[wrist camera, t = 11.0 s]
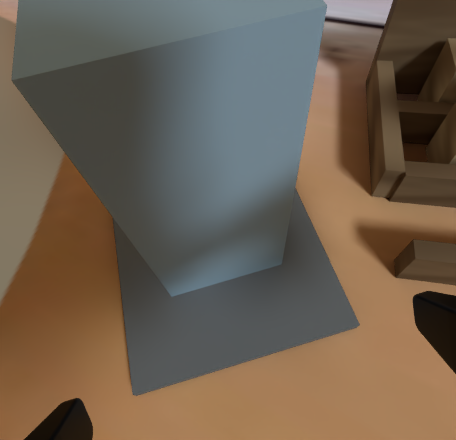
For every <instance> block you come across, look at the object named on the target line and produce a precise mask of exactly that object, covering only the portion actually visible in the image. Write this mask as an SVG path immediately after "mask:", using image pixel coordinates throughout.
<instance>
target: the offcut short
mask: <svg viewBox="0 0 456 440" xmlns="http://www.w3.org/2000/svg"><path fill="white" fill-rule="evenodd" d="M417 101H424V102H443V103H455V102H456V38H448V39H447V41H446V43H445V45H444V47H443V49H442V51H441V53H440V55H439V57H438V59H437V61H436V62H435V64H434V66H433V68H432V70H431V72H430V74H429V76H428V78H427V80H426V82H425V84H424V86H423V88H422V90H421V92H420V94H419V96H418V98H417Z"/></svg>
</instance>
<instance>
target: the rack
mask: <svg viewBox="0 0 456 440" xmlns="http://www.w3.org/2000/svg"><path fill="white" fill-rule="evenodd" d="M448 38H456V0H393V3H392V6H391V9H390V12H389V15H388V18H387V21H386V24H385V27H384V30H383V33H382V36H381V39H380V42H379V45H378V48H377V51H376V54H375V57H374V60H373V63H372V66H371V69H370V71H369V74H368V77H367V80H366V95H367V114H368V134H369V153H370V173H371V192H372V196H375V197H386V198H389V201H392V202H402V203H413V204H423V205H434V206H445V207H455V208H456V165H452V164H439V163H426V162H413V161H404V154H403V146H402V142H407V143H421V144H429V142H430V141H431V139H432V138H433V136H434V135H435V133H436V132H437V130H438V129H439V127H440V125H441V124H442V122H443V121H444V119H445V118H446V116H447V115H448V113H449V112H450V110H451V108H452V107H453V105H454V104H455V103H443V102H424V101H405V100H397V94H396V93H409V94H420V92H421V90H422V88H423V86H424V84H425V82H426V80H427V78H428V76H429V74H430V72H431V70H432V68H433V66H434V64H435V62H436V61H437V59H438V57H439V55H440V53H441V51H442V49H443V47H444V45H445V43H446V41H447V39H448ZM394 262H395V274H396V278H403V279H411V280H419V281H427V282H435V283H442V284H450V285H456V244H451V243H442V242H433V241H424V240H414V239H413V240H412V241H411V242H410V244H409V245H408V246H407V247H406V248H405V249H404V250H403V251H402V252H401V253H400V254H399V256H398V257H397V258H396V259H395V260H394Z"/></svg>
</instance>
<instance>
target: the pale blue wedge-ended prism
mask: <svg viewBox="0 0 456 440" xmlns="http://www.w3.org/2000/svg"><path fill="white" fill-rule="evenodd" d="M326 9H327V5H326V4H325V2H324V1H323V0H19V1H18V12H17V23H16V35H15V47H14V58H13V70H12V81H13V83H14V84H15V86H16V87H17V88H18V90H19V91H20V92H21V94H22V95H23V96H24V98H25V99H26V101H27V102H28V103H29V104H30V106H31V107H32V108H33V110H34V111H35V113H36V114H37V115H38V117H39V118H40V119H41V121H42V122H43V124H44V125H45V126H46V127H47V129H48V130H49V131H50V133H51V134H52V136H53V137H54V138H55V140H56V141H57V142H58V144H59V145H60V147H61V148H62V149H63V151H64V152H65V153H66V155H67V156H68V157H69V159H70V160H71V161H72V163H73V164H74V165H75V167H76V168H77V170H78V171H79V172H80V174H81V175H82V176H83V178H84V179H85V180H86V182H87V183H88V184H89V186H90V187H91V188H92V190H93V191H94V192H95V194H96V195H97V197H98V198H99V199H100V201H101V202H102V203H103V205H104V206H105V207H106V209H107V210H108V211H109V213H110V214H111V215H112V217H113V218H114V220H115V221H116V222H117V224H118V225H119V226H120V228H121V229H122V230H123V232H124V233H125V234H126V236H127V237H128V238H129V240H130V241H131V242H132V244H133V245H134V247H135V248H136V249H137V251H138V252H139V253H140V255H141V256H142V257H143V259H144V260H145V261H146V263H147V264H148V265H149V267H150V268H151V270H152V271H153V272H154V274H155V275H156V276H157V278H158V279H159V280H160V282H161V283H162V284H163V286H164V287H165V288H166V290H167V291H168V293H169V294H170V295H171V297H173V296H176V295H179V294H183V293H186V292H190V291H193V290H196V289H200V288H203V287H207V286H210V285H213V284H217V283H220V282H223V281H227V280H230V279H234V278H237V277H240V276H244V275H247V274H251V273H254V272H257V271H261V270H264V269H268V268H271V267H274V266H278V265H281V264H282V260H283V254H284V248H285V243H286V237H287V231H288V226H289V220H290V214H291V209H292V203H293V197H294V192H295V186H296V180H297V174H298V169H299V163H300V157H301V152H302V146H303V140H304V135H305V129H306V123H307V117H308V112H309V106H310V100H311V95H312V89H313V83H314V78H315V72H316V66H317V61H318V55H319V49H320V43H321V38H322V32H323V26H324V21H325V15H326Z"/></svg>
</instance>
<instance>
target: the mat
mask: <svg viewBox="0 0 456 440" xmlns="http://www.w3.org/2000/svg"><path fill="white" fill-rule="evenodd" d="M113 224H114V233H115V242H116V251H117V260H118V269H119V278H120V286H121V295H122V304H123V313H124V322H125V331H126V339H127V348H128V357H129V366H130V375H131V384H132V392H133V395H136V396H137V395H141V394H144V393H147V392H150V391H153V390H157V389H160V388H163V387H166V386H170V385H173V384H176V383H179V382H182V381H186V380H189V379H192V378H195V377H199V376H202V375H205V374H208V373H212V372H215V371H218V370H221V369H224V368H228V367H231V366H234V365H237V364H241V363H244V362H247V361H250V360H254V359H257V358H260V357H263V356H266V355H270V354H273V353H276V352H279V351H283V350H286V349H289V348H292V347H295V346H299V345H302V344H305V343H308V342H312V341H315V340H318V339H321V338H325V337H328V336H331V335H334V334H337V333H341V332H344V331H347V330H350V329H354V328H357V327H358V326H359V325H360V324H359V322H358V320H357V318H356V316H355V314H354V312H353V309H352V307H351V305H350V303H349V301H348V299H347V297H346V295H345V292H344V290H343V288H342V286H341V284H340V282H339V280H338V278H337V275H336V273H335V271H334V269H333V267H332V265H331V263H330V261H329V258H328V256H327V254H326V252H325V250H324V248H323V246H322V244H321V242H320V239H319V237H318V235H317V233H316V231H315V229H314V227H313V225H312V222H311V220H310V218H309V216H308V214H307V212H306V210H305V208H304V205H303V203H302V201H301V199H300V197H299V195H298V193H297V191H296V188H295V192H294V197H293V203H292V209H291V214H290V220H289V226H288V231H287V237H286V243H285V248H284V254H283V260H282V264H281V265H278V266H274V267H271V268H268V269H264V270H261V271H257V272H254V273H251V274H247V275H244V276H240V277H237V278H234V279H230V280H227V281H223V282H220V283H217V284H213V285H210V286H207V287H203V288H200V289H196V290H193V291H190V292H186V293H183V294H179V295H176V296H173V297H171V295H170V294H169V293H168V291H167V290H166V288H165V287H164V286H163V284H162V283H161V282H160V280H159V279H158V278H157V276H156V275H155V274H154V272H153V271H152V270H151V268H150V267H149V265H148V264H147V263H146V261H145V260H144V259H143V257H142V256H141V255H140V253H139V252H138V251H137V249H136V248H135V247H134V245H133V244H132V242H131V241H130V240H129V238H128V237H127V236H126V234H125V233H124V232H123V230H122V229H121V228H120V226H119V225H118V224H117V222H116V221H115V220H114V218H113Z"/></svg>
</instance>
